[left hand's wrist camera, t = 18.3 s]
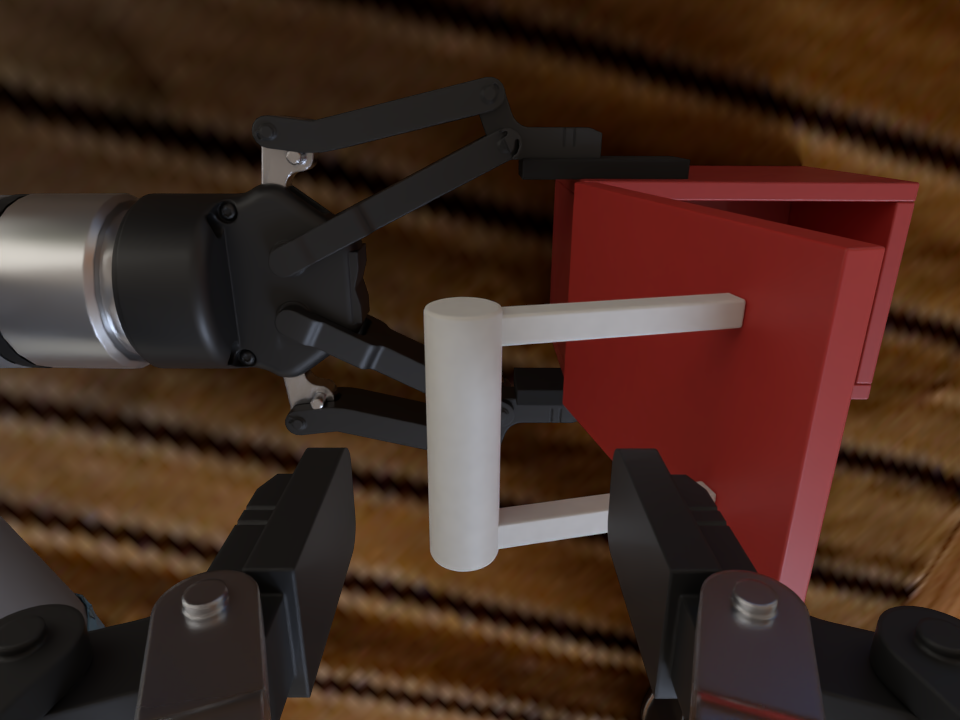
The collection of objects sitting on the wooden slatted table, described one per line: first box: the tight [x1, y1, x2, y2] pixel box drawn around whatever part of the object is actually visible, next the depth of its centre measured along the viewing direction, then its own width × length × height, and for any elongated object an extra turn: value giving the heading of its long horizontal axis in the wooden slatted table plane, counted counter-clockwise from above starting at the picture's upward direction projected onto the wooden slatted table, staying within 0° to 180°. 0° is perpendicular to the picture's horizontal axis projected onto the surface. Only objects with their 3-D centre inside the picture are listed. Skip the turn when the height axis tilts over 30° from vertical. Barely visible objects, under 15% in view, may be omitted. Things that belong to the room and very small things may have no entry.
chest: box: [550, 166, 919, 399], centre depth 30 cm, size 13×9×9 cm
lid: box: [424, 182, 885, 602], centre depth 19 cm, size 13×9×8 cm
